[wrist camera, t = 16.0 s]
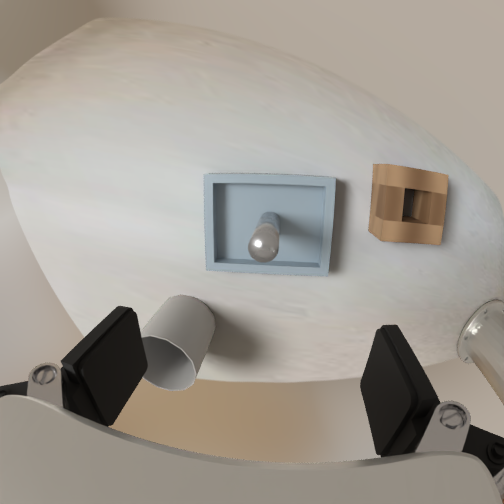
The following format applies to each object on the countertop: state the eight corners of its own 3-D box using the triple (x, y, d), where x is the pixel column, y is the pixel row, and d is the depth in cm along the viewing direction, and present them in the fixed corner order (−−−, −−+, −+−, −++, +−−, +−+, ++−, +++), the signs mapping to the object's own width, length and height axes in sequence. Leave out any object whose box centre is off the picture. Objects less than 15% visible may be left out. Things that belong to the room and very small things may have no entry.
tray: (331, 177, 29) (335, 177, 27) (324, 268, 33) (327, 276, 30) (209, 173, 31) (203, 173, 28) (211, 263, 34) (206, 270, 32)
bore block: (429, 172, 27) (448, 174, 23) (423, 235, 30) (440, 244, 25) (373, 164, 28) (387, 164, 24) (368, 230, 31) (380, 240, 26)
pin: (280, 211, 30) (279, 233, 21) (279, 232, 31) (278, 263, 22) (259, 211, 31) (248, 232, 21) (258, 231, 31) (247, 261, 22)
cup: (217, 301, 36) (196, 345, 26) (215, 349, 38) (197, 397, 29) (158, 290, 36) (124, 327, 27) (161, 337, 39) (133, 379, 29)
